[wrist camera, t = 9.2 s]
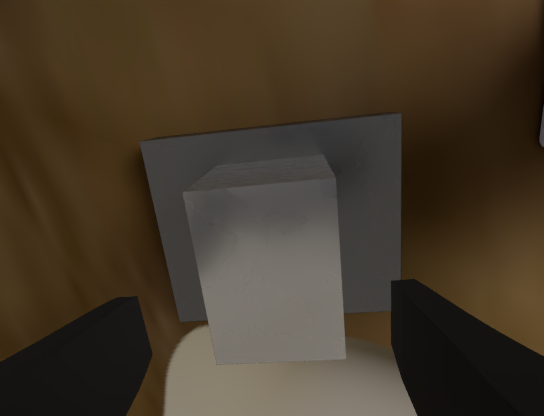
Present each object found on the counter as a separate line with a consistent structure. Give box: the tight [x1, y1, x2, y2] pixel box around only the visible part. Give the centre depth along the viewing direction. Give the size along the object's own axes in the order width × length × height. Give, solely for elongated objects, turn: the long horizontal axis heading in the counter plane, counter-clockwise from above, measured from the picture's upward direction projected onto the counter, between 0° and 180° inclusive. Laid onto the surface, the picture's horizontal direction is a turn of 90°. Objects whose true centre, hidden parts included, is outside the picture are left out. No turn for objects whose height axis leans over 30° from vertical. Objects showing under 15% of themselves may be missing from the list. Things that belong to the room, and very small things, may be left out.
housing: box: [183, 155, 346, 365], centre depth 14 cm, size 7×5×5 cm
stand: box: [140, 112, 402, 322], centre depth 17 cm, size 12×10×2 cm
